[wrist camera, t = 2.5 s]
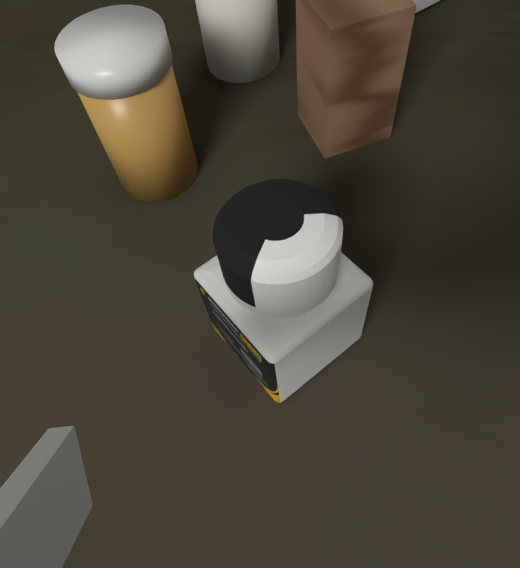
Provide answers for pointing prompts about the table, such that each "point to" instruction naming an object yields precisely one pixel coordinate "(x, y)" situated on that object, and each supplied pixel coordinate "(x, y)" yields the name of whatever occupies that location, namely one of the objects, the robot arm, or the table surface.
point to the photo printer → (423, 4)
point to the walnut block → (350, 69)
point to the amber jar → (131, 97)
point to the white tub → (239, 38)
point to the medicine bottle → (283, 283)
